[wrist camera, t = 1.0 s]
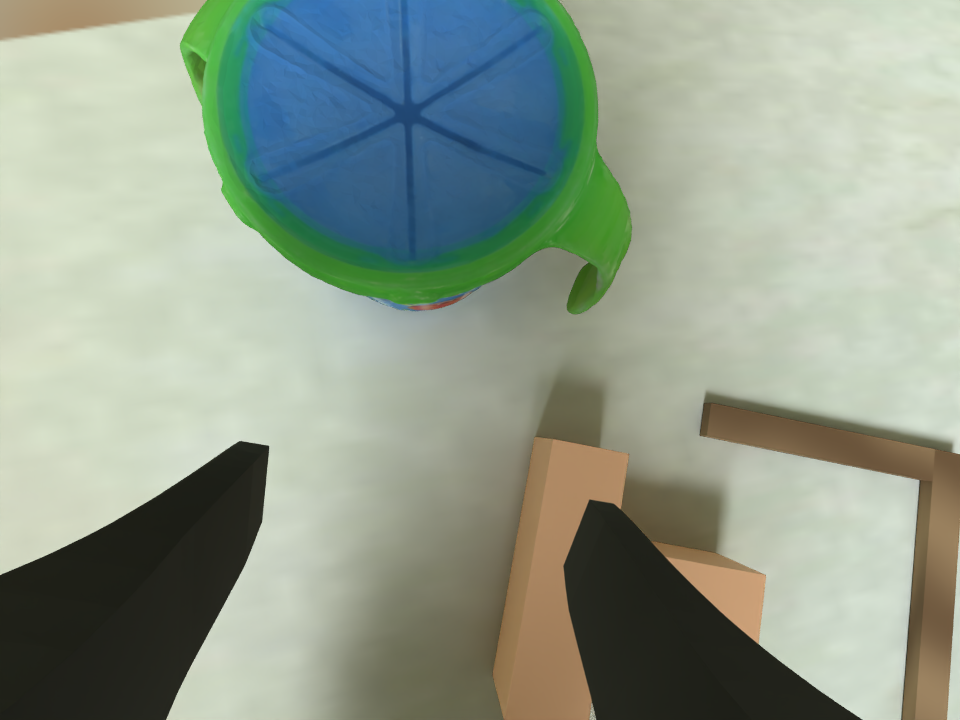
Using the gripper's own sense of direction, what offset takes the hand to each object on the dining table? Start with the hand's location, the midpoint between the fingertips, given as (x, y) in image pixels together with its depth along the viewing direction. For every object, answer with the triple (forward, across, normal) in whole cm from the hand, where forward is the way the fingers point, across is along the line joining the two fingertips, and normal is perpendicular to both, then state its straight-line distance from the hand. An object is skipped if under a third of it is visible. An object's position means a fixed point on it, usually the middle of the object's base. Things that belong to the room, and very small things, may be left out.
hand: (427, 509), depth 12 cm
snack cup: (+15, +2, -3) cm, 15 cm away
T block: (+8, -10, +8) cm, 14 cm away
